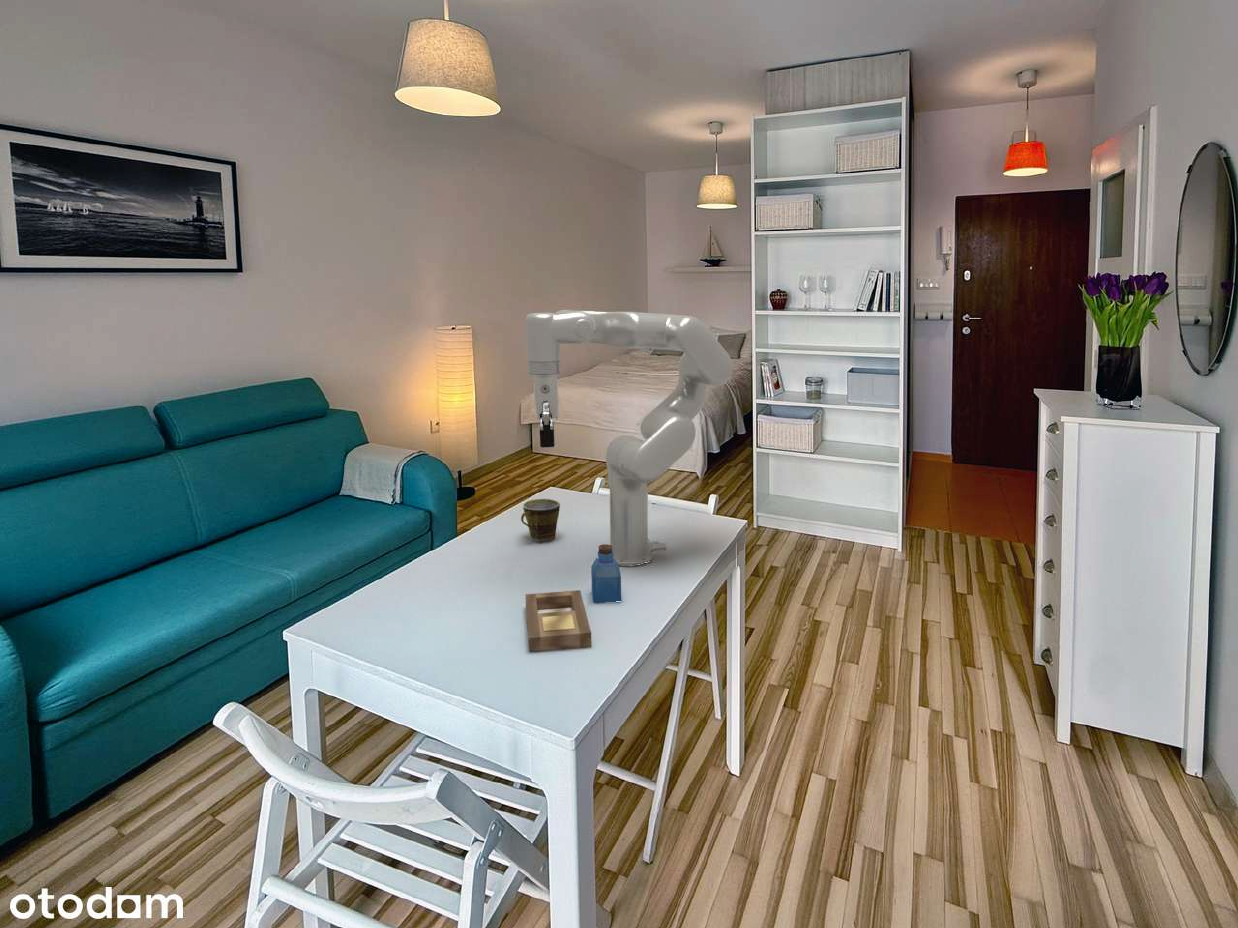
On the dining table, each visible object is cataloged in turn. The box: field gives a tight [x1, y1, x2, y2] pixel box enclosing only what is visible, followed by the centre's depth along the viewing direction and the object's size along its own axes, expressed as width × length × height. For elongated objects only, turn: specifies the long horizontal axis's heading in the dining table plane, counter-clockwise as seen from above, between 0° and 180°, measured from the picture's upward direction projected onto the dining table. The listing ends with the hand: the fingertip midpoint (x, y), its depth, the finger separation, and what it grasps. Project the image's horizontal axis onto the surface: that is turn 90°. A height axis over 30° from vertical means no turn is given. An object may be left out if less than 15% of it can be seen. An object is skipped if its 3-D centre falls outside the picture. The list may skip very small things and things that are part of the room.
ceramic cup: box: [520, 498, 561, 544], centre depth 198 cm, size 13×10×10 cm
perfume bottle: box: [590, 543, 622, 604], centre depth 163 cm, size 6×6×12 cm
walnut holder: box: [525, 589, 592, 653], centre depth 151 cm, size 12×20×3 cm, turn 9°
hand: (547, 442), depth 170 cm, fingers open, 9 cm apart
